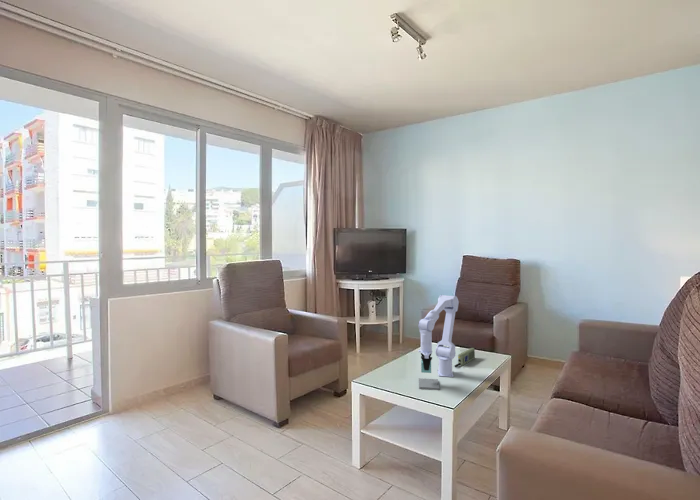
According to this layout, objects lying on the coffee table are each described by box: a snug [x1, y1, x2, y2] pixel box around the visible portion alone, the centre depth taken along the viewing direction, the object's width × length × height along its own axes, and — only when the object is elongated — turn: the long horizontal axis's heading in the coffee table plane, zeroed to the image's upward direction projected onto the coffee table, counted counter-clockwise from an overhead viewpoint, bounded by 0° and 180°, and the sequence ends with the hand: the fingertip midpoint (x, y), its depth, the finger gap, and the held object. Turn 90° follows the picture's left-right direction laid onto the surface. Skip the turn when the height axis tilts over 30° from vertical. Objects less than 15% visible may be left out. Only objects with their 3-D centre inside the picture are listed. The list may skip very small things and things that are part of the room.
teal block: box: [420, 359, 432, 374], centre depth 195 cm, size 5×5×5 cm
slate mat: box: [418, 378, 440, 391], centre depth 194 cm, size 12×10×1 cm
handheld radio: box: [454, 347, 476, 368], centre depth 229 cm, size 7×3×25 cm
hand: (426, 368), depth 195 cm, fingers closed on teal block, 5 cm apart
